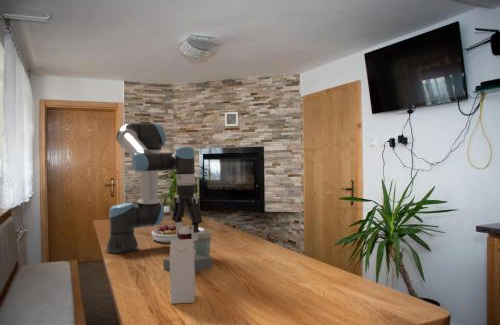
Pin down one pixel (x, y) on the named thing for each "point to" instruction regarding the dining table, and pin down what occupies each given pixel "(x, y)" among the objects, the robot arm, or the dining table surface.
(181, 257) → the milk carton
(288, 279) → the dining table surface
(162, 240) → the bowl
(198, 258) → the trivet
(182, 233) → the cocoa
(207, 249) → the coffee cup
